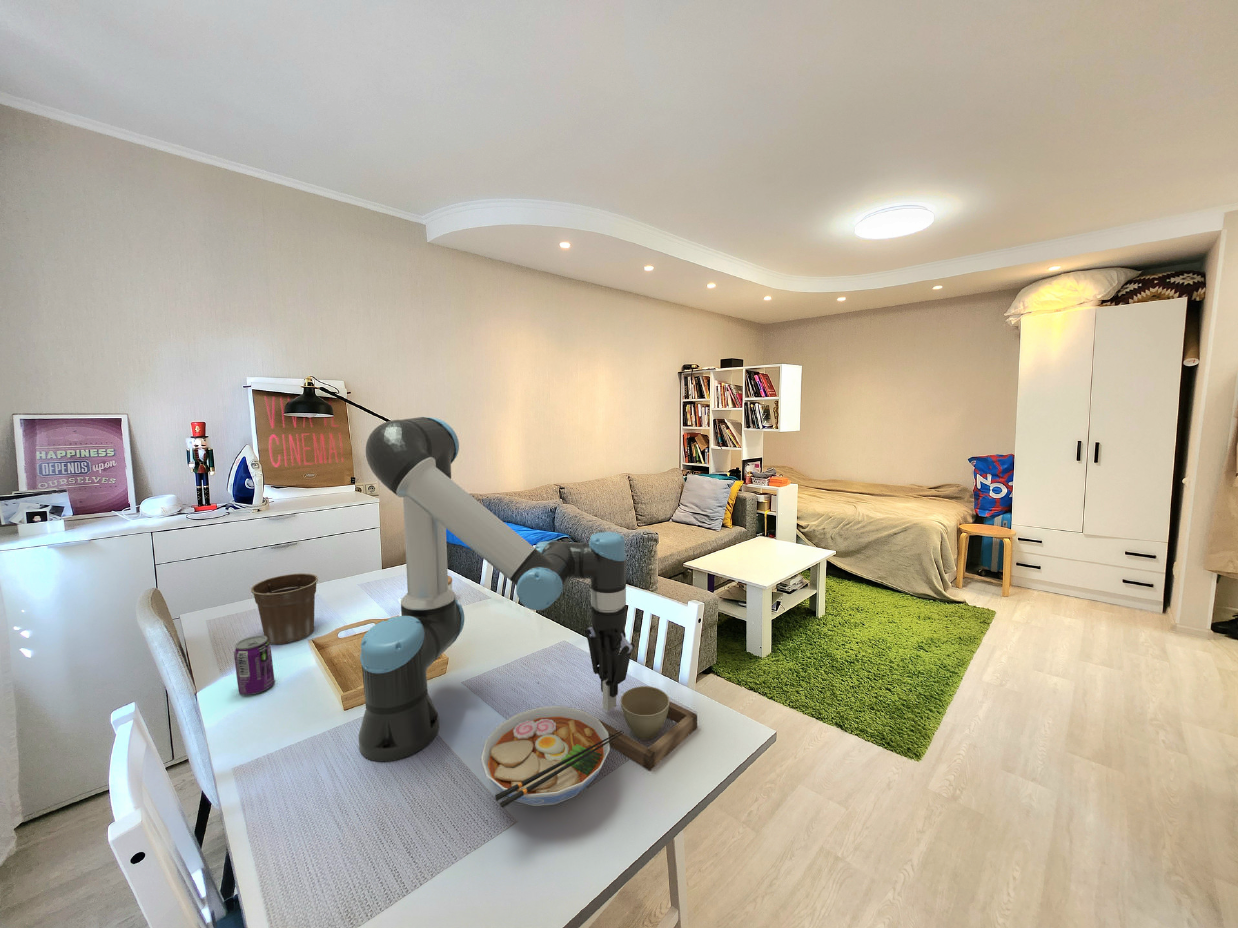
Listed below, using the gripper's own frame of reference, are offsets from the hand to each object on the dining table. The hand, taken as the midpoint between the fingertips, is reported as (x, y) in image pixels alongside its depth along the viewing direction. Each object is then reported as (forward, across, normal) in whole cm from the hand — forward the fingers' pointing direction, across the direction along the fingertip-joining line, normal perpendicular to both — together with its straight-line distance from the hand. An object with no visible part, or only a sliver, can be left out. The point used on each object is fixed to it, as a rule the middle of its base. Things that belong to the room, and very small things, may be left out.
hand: (609, 707), depth 110 cm
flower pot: (+1, -10, 0) cm, 10 cm away
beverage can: (+2, +70, +50) cm, 86 cm away
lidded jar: (+2, +85, -4) cm, 85 cm away
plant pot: (+2, +95, +36) cm, 102 cm away
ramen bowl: (+2, -5, +22) cm, 22 cm away
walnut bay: (+1, -9, 0) cm, 9 cm away
